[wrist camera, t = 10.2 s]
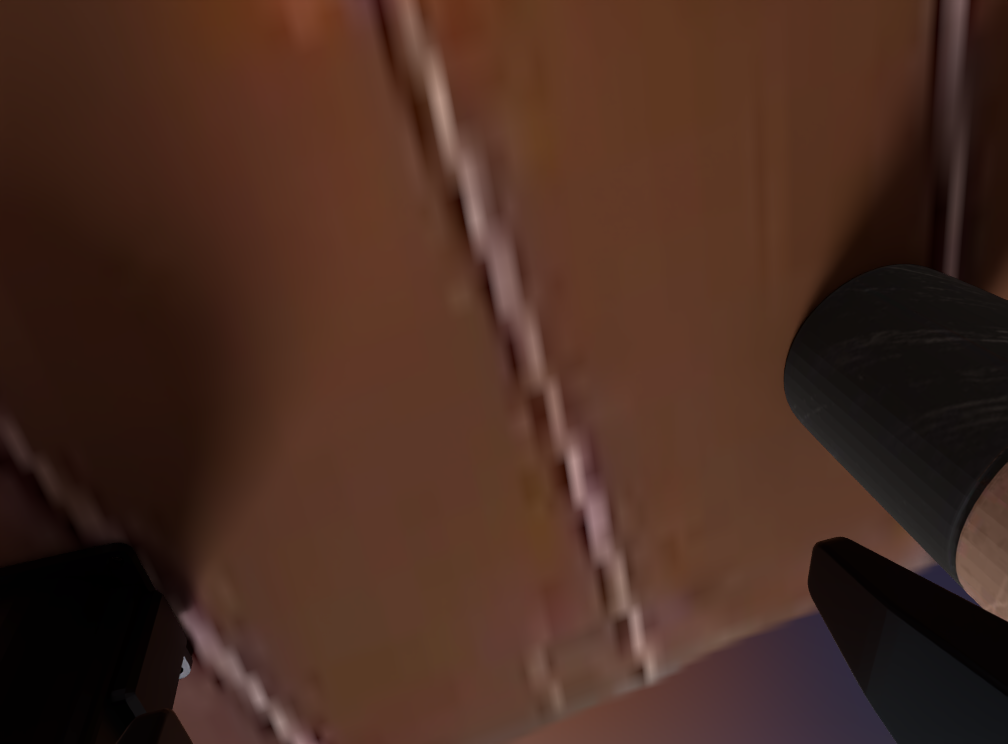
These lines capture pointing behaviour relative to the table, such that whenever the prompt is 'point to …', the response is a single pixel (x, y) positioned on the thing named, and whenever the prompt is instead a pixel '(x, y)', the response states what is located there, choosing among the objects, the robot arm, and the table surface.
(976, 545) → the travel mug
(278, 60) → the table surface
